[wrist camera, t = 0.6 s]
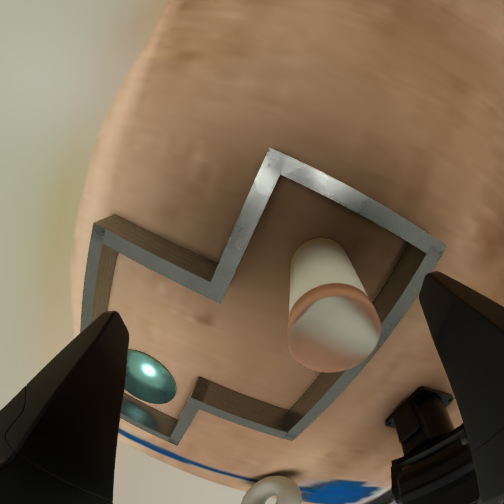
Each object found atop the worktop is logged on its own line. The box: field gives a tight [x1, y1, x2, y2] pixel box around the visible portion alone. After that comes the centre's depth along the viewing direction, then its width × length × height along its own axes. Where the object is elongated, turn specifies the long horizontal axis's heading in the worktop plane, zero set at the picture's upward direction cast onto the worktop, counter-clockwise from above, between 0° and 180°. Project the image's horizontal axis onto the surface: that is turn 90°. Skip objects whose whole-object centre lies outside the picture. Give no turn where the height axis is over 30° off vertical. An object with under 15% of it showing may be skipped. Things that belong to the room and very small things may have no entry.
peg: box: [287, 238, 381, 372], centre depth 17 cm, size 4×4×9 cm
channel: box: [80, 148, 446, 446], centre depth 23 cm, size 23×32×3 cm
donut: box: [241, 475, 302, 504], centre depth 28 cm, size 10×3×10 cm, turn 132°
